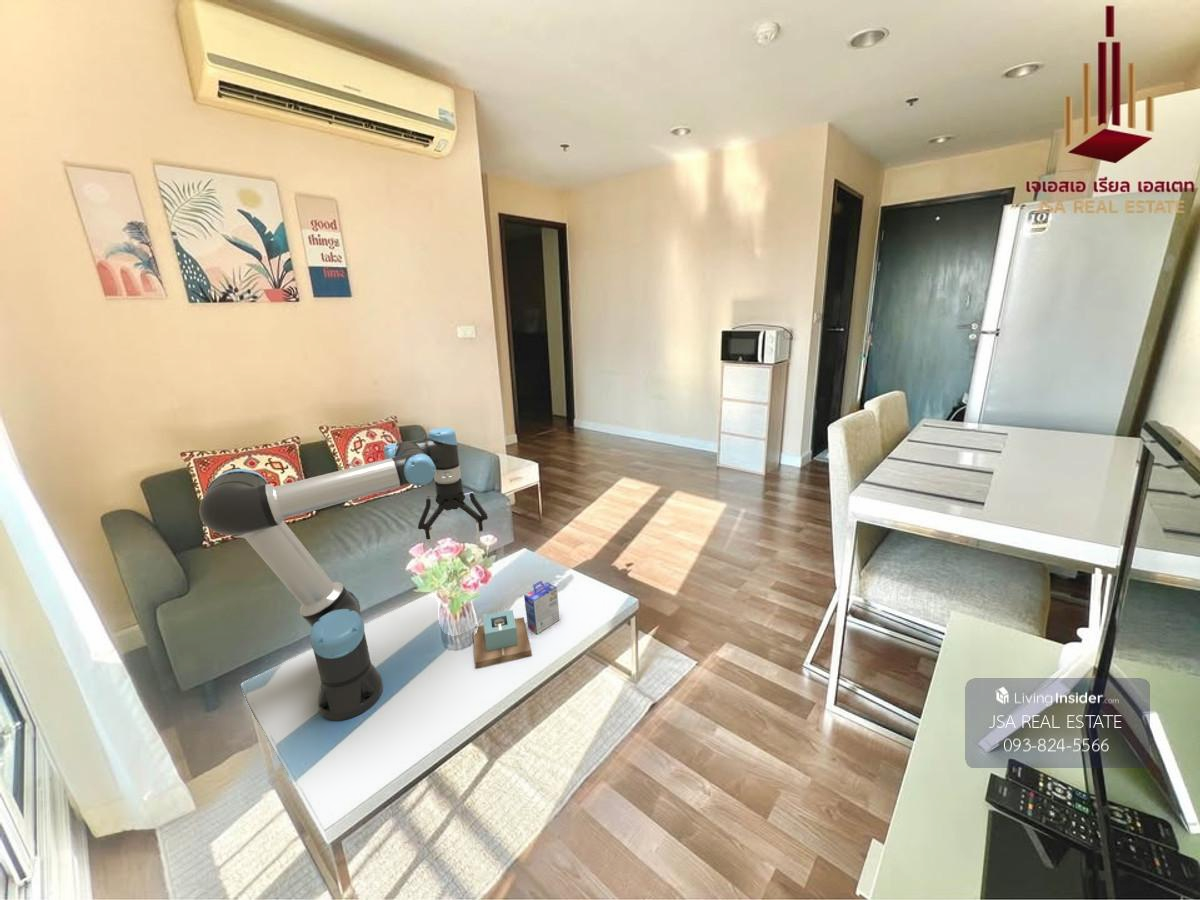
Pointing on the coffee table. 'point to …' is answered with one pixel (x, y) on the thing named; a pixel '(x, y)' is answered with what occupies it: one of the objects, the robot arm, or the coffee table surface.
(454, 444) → the robot arm
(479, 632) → the brown wooden base
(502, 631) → the gray-green box with recess
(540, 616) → the ink cartridge box
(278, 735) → the coffee table surface
